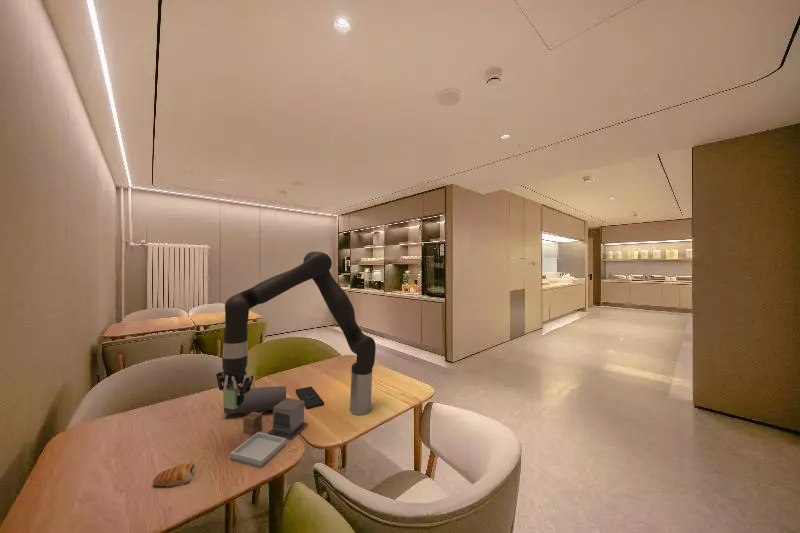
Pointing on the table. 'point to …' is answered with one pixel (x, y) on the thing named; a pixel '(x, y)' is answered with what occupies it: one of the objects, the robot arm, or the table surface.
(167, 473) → the pastry
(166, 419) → the table surface
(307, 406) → the smart home device
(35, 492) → the table surface
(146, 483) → the table surface
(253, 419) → the walnut block
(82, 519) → the table surface
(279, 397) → the bluetooth speaker
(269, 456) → the tray
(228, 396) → the green block
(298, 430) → the housing
